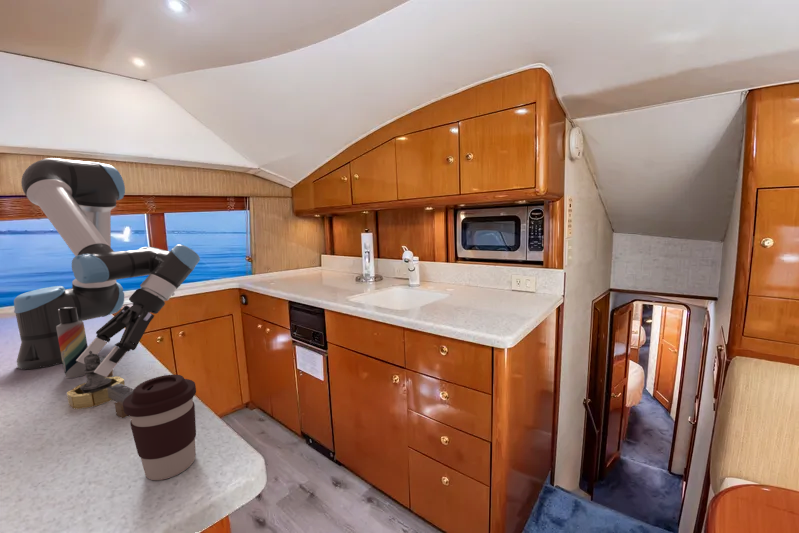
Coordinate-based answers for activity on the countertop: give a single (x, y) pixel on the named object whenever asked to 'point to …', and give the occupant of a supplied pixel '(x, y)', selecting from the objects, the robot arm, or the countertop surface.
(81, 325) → the lotion bottle
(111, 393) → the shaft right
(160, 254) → the robot arm
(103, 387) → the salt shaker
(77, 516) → the countertop surface
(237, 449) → the countertop surface
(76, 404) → the brass collar
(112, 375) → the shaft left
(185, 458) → the coffee cup
